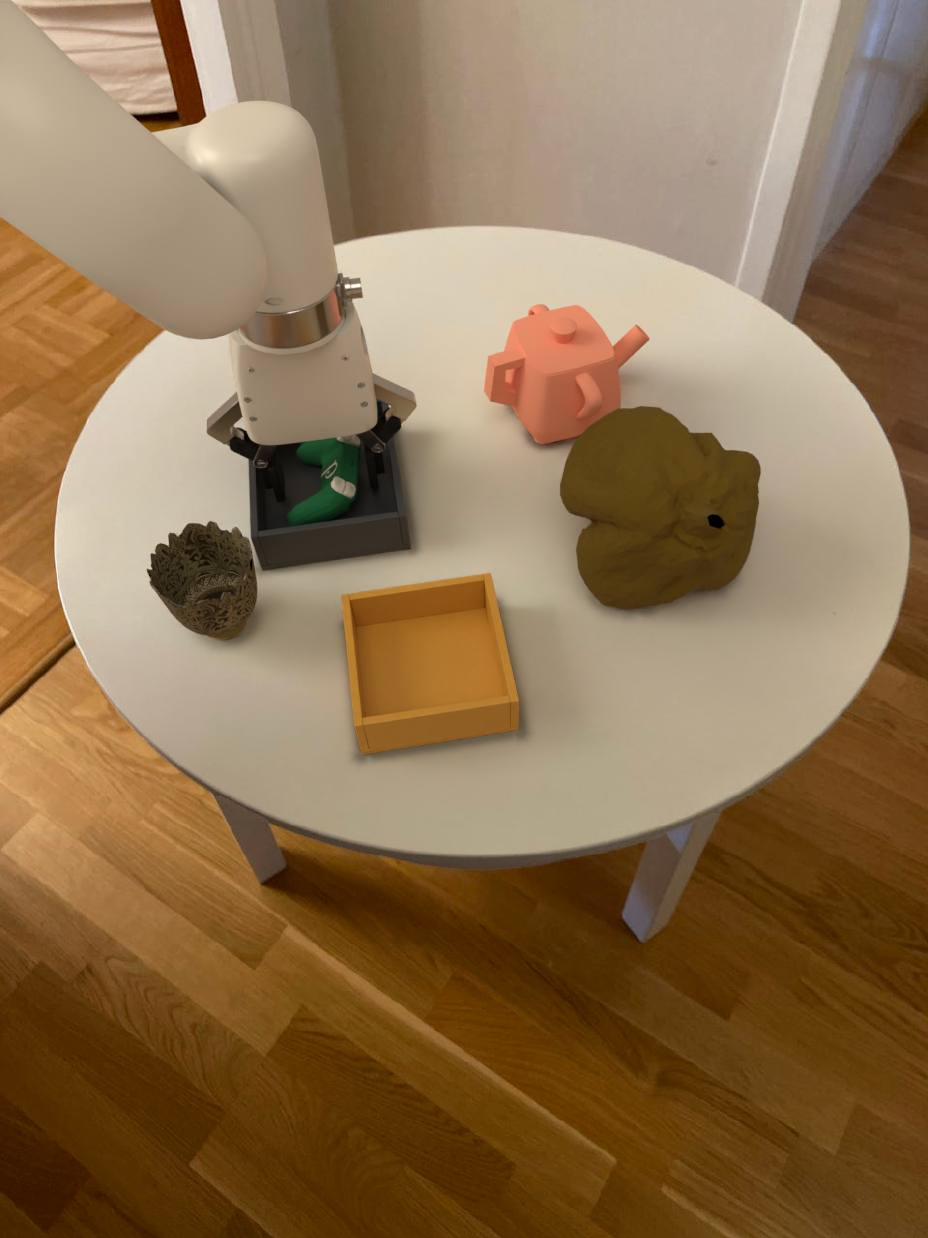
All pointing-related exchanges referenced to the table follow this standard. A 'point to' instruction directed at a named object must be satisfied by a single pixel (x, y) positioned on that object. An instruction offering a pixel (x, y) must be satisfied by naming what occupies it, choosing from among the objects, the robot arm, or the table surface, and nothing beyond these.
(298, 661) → the table surface
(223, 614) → the cup
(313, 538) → the charcoal bin
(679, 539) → the olive-brown lumpy blob
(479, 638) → the ochre bin
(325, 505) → the gaming controller
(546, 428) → the teapot
